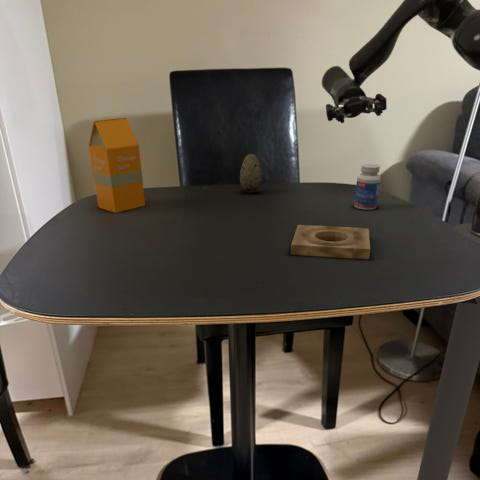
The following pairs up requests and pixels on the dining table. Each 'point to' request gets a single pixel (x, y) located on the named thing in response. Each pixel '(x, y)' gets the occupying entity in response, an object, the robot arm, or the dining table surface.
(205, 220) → the dining table surface
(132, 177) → the orange juice
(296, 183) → the dining table surface
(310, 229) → the pad
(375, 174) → the pill bottle
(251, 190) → the decorative egg
